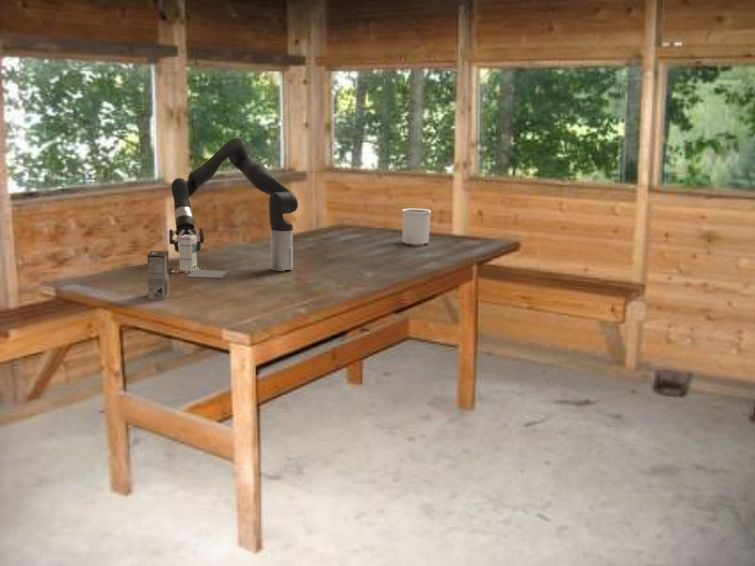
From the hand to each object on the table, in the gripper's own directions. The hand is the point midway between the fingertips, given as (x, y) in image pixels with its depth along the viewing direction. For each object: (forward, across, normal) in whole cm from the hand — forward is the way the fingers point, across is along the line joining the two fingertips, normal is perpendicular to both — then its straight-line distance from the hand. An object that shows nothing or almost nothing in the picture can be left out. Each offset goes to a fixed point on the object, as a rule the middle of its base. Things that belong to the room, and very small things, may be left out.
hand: (188, 250), depth 365 cm
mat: (+14, -6, +2) cm, 15 cm away
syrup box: (+6, 0, -6) cm, 8 cm away
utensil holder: (-31, -123, -45) cm, 135 cm away
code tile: (+6, 0, -6) cm, 8 cm away
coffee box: (+40, +16, +29) cm, 52 cm away
